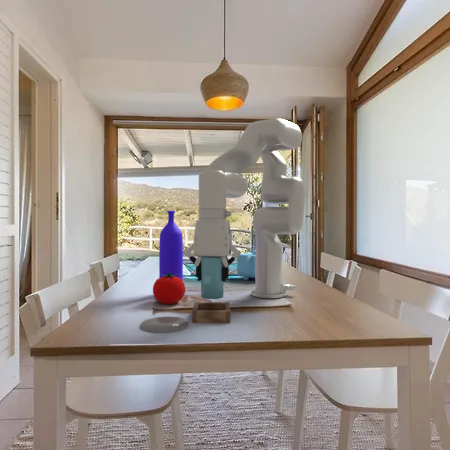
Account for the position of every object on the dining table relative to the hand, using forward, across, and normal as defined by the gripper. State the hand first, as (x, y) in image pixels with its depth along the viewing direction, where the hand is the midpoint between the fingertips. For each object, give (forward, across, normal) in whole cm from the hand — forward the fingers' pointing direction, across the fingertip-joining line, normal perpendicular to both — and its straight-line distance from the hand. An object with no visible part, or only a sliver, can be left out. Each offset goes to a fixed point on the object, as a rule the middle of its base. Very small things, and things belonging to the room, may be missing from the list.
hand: (212, 279), depth 101 cm
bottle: (+11, +20, -27) cm, 35 cm away
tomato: (+11, +17, -14) cm, 25 cm away
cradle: (+11, 0, 0) cm, 11 cm away
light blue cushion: (+12, -5, -65) cm, 66 cm away
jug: (+5, 0, +2) cm, 5 cm away
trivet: (+11, +11, +9) cm, 18 cm away
